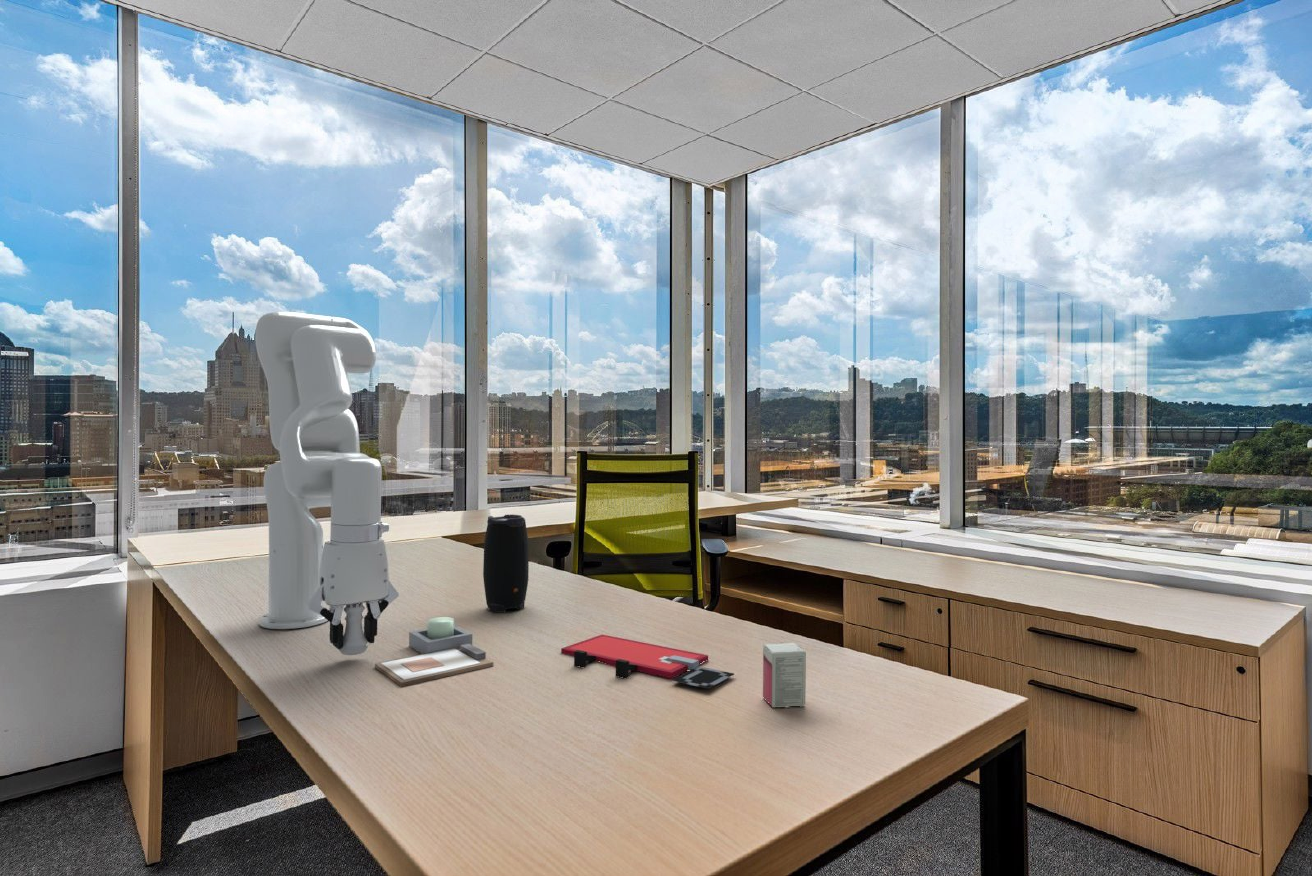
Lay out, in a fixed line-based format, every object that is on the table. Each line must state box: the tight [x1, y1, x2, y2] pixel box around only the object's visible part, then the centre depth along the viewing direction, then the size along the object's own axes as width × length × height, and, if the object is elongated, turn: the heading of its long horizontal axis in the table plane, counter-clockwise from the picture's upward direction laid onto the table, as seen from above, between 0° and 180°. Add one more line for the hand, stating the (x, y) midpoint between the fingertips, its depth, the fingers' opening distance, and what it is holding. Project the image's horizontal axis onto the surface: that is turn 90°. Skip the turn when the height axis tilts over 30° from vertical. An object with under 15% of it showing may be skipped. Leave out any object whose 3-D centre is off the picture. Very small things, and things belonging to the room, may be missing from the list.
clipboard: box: [374, 644, 494, 688], centre depth 115 cm, size 11×15×2 cm
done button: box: [426, 616, 455, 640], centre depth 125 cm, size 4×4×3 cm
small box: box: [762, 642, 807, 708], centre depth 102 cm, size 5×4×8 cm
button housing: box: [408, 624, 473, 654], centre depth 125 cm, size 8×8×2 cm
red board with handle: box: [560, 634, 735, 690], centre depth 118 cm, size 30×3×15 cm
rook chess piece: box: [338, 603, 369, 656], centre depth 118 cm, size 4×4×8 cm
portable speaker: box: [482, 514, 530, 613], centre depth 152 cm, size 9×9×20 cm
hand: (353, 642), depth 118 cm, fingers closed on rook chess piece, 4 cm apart
